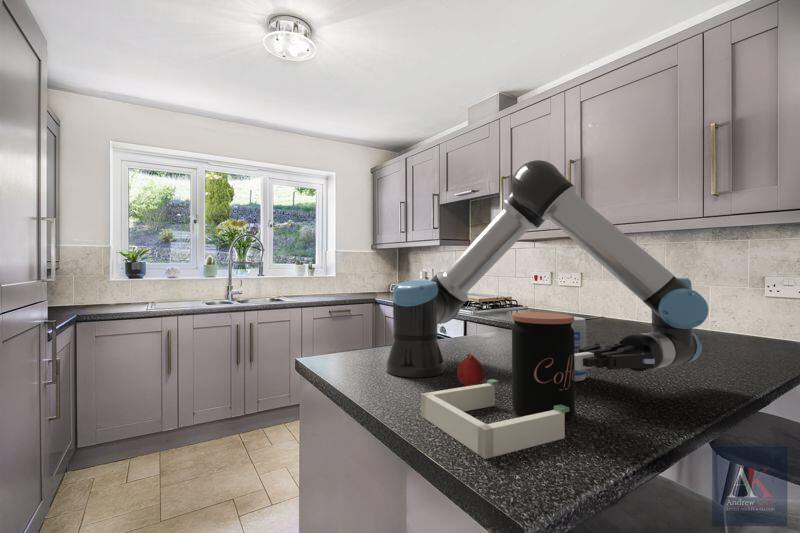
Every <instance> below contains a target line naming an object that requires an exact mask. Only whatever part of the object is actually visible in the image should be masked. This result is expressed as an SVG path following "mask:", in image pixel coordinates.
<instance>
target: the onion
mask: <svg viewBox="0 0 800 533" xmlns="http://www.w3.org/2000/svg"><path fill="white" fill-rule="evenodd" d="M456 373H457V378H458V380H459V382H460V383H461V384H462V385H463V386H464V387H467V386H473V385H480V384H481V383H483V380H484V377H485V370H484V367H483V365H482V364H481V362H480V361H479V360H478V359H477V358H476V357H474V354H472V353H470V352H469V353H467V354H466V357H465V358H464V359H462V360H461V361H460V363H459V364H458V366H457V371H456Z"/></svg>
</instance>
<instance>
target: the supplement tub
mask: <svg viewBox="0 0 800 533" xmlns="http://www.w3.org/2000/svg"><path fill="white" fill-rule="evenodd" d="M573 317H574V322H573V323H572V324H571V327H572V328H573V330H574V346H575V353H578V349H582V348H586V347H587V321H586V320H587V319H586V318H584V317H580V316H573ZM586 378H587V369H582V370H575V383H576V382H582V381H584V380H585V379H586Z"/></svg>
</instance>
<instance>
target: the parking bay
mask: <svg viewBox="0 0 800 533" xmlns="http://www.w3.org/2000/svg"><path fill="white" fill-rule="evenodd" d="M497 385H500V381H499V380H497V379H493V378H491V379H487V380H486V383H482V384H481V383H480V384H479V385H473V386H467V387H466V386H461V387H453V388H448V389H443V390H436V391H431V392H430V391H429V392H428V391H427V392H424V393H423V392H422V393H421V394H420V396H421V398H420V412H421V413H420V416H421V417H422V418H423V419H424V420H427V421H428V422H429V423H431V424H432V425H433V426H436V427H437V428H439V429H440V430H441V431H443V432H444V433H446V434H447V435H448V436H450V437H452V438H453V439H454V440H456V441H457V442H459V443H461V444H462V445H464V446H465V447H466V448H468V449H469V450H471V452H474V453H475V454H477V455H478V456H480V457H481V458H482V459H484V460H486V459H490V458H491V459H492V458H494V457H498V456H502V455H505V454H506V455H507V454H510V453H513V452H517V451H521V450H525V449H529V448H533V447H536V446H540V445H543V444H547V443H551V442H556V441H559V440H562V439H563V440H564V439H565V438H566V437H565V436H566V434H565V430H566V429H565V424H566V423H565V415H564V413H565V412H569V407H566V406H564V405H556V406H554V410H551V411H547V412H542V413H537V414H533V415H528V416H523V417H519V416H518V417H515V418H511V419H506V420H501V421H496V422H495V421H494V422H492V423H491V422H490V423H485V422H483V421H482V420H480V419H478V418H475V417H474V416H472V415H471V414H468V413H466V412H468V411H473V410H479V409H484V408H490V407H495V405H496V402H495V401H496V398H495V397H496V396H495V394H496V388H495V387H496V386H497Z"/></svg>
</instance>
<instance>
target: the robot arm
mask: <svg viewBox="0 0 800 533" xmlns="http://www.w3.org/2000/svg"><path fill="white" fill-rule="evenodd" d="M510 188H511V189H510V190H511V191H510V192H509V194H508V195H506V196H505V198H504V199H503V209H501V211H500V212H499V213H498V214H497V215H496V216H495V218H493V220H491V221H490V223H488V225H487V226H486V227H485V228H484V229H483V231H481V233H479V235H477V237H476V238H475V239H474V240H473V241H472V242H471V243H470V244H469V245H468V247H467V248H466V249H465V250H464V251H463V252H462V253H461V254H460V256H458V257H457V258H456V260H455V261H454V262H453V263H452V264H451V266H449V267H448V268H447V269H446V270H445V271H438V272H437V273H436V274H435V275H434V276H433V277H432V278H431V279H430V280H429V279H428V280H425V279H424V280H423V279H419V280H417V279H416V280H410V281H407V280H406V281H403V282H399V283H397V284H396V285H395V286H394V288H393V296H392V308H393V309H392V312H393V313H392V314H393V315H392V318H393V319H392V321H393V322H392V323H393V325H392V327H393V328H392V330H393V331H392V333H393V334H392V335H393V338H392V339H393V341H392V344H391V347H390V351H389V352H388V356H387V359H386V372H388V374H390V375H393V376H395V377H396V376H397V377H401V378H402V377H404V378H429V377H430V378H431V377H434V376H435V377H436V376H440V375H441V374H444V372H445V362H444V361H445V360H444V358H443V354H442V351H441V348H440V345H439V341H438V325H442V324H446V323H449V322H450V321H452V320H453V319H455V317H456V316H457V315H458V314H459V313H460V310H461V307H462V306H463V305H464V304H466V302H467V301H468V299H469V291H471V289H472V288H474V286H475V285H476V284H477V283H479V281H480V280H481V279H482V278H484V276H485V275H486V274H487V273H488V272H489V271H490V269H492V267H494V266H495V264H496V263H498V261H499V260H501V258H502V257H503V256H504V255H505V254H506V253H507V252H508V251H510V249H511V248H512V247H513V246H514V245H515V244H516V243H517V242H518V241H519V239H521V238H522V236H524V235H525V234H526V233H527V231H529V230H536V229H538V228H539V227H540V226H542V224H543V223H544V222H545V221H551V222H552V223H553V224H554V225H556V226H557V227H558V228H559V229H560V230H561V231H562V232H564V233H565V234H566V235H567V236H568V237H569V238H570V239H571V240H573V241H574V242H575V243H576V244H577V245H578V246H580V247H581V248H582V249H583V250H584V251H585V252H587V254H589V255H590V256H591V257H592V258H593V259H594V260H595V261H597V262H598V264H600V265H601V266H602V267H603V268H604V269H606V270H607V271H608V272H609V273H610V274H611V275H612V276H614V277H615V278H616V280H618V281H619V282H620V283H622V284H623V285H624V287H626V288H627V289H628V290H629V291H630V292H632V293H633V295H635V296H636V297H637V298H639V299H640V300H641V301H642V302H643V303H644V304H645V305H646V306H648V308H649V309H651V332H645V333H637V334H629V335H626V336H624V337H623V338H622V339H620V341H619V343H618V342H617V343H614V344H611V345H606V346H605V347H603V346H604V345H603V344H602V345H601V344H600V343H593V345H590V346H586V348H582V349H578V353H575V370H582V369H586V370H588V369H592V368H595V367H596V368H598V369H602V368H606V370H609V371H611V370H612V371H613V370H622V369H623V370H624V369H628V370H629V369H630V371H634V372H646V371H652V372H653V371H654V372H655V371H657V370H656V369H659V368H666V367H672V366H682V365H686V364H689V363H691V362H693V361H696V360H697V359H698V358H699V357H700V356H701V353H702V352H703V351H702V350H703V346H702V343H701V341H700V338H699V337H698V336H697V335H696V334H695V333H693V329H694V328H698V327H700V326H701V325H702V324H703V323H704V322H705V321H706V320H707V318H708V315H709V305H708V302H707V301H706V299H705V298H704V296H702V295H701V294H700V293H699V292H698V291H695V290H693V288H692V281H691V280H690V279H689V278H686V277H682V278H681V277H676V276H675V275H674V274H673V273H672V272H671V271H669V269H667V268H666V267H665V266H664V265H662V264H661V263H660V262H659V261H658V260H656V259H655V258H654V257H653V256H652V255H650V254H649V253H648V252H646V251H645V250H644V249H643V248H642V247H641V246H640V245H638V244H637V243H636V242H635V241H633V240H632V239H631V237H629V236H627V235H626V234H625V233H624V232H622V231H621V230H620V229H619V228H618V227H617V226H615V225H614V224H613V223H612V222H611V221H609V220H608V219H607V218H606V217H605V216H603V215H602V214H601V213H600V212H599V211H597V210H596V209H595V208H594V207H593V206H591V205H590V204H589V203H588V202H586V201H585V200H584V199H583V198H582V197H580V196H579V195H578V194H577V186H576V185H574V184H572V182H571V181H569V180H568V179H567V178H566V176H564V175H563V173H561V172H560V171H559V169H558V168H557V167H556V166H555V165H554V164H552V163H551V162H549V161H546V160H541V159H538V160H537V159H536V160H532V161H528V162H525V163H524V164H522V165H521V166H519V168H518V169H517V170H516V172H515V173H514V174H513V176H512V180H511V185H510Z"/></svg>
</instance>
